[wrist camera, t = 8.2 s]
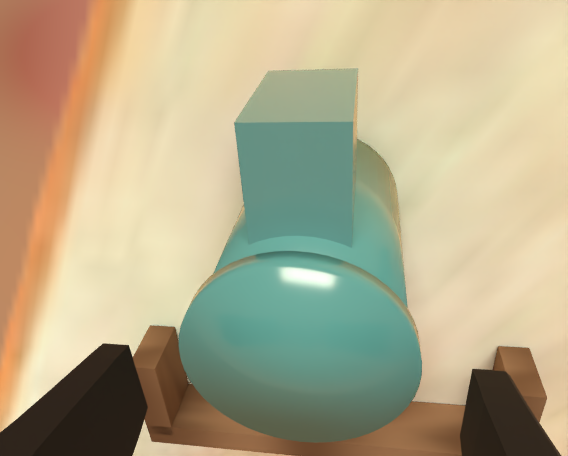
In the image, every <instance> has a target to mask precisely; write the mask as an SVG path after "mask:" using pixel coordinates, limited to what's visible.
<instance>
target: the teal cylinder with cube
mask: <svg viewBox="0 0 568 456" xmlns="http://www.w3.org/2000/svg"><path fill="white" fill-rule="evenodd" d="M357 99H358V69H322V70H283V71H268V72H267V74H266V75H265V77H264V78H263V80H262V81H261V83H260V84H259V86H258V87H257V89H256V90H255V92H254V94H253V95H252V97H251V98H250V100H249V101H248V103H247V104H246V106H245V107H244V109H243V110H242V112H241V113H240V115H239V116H238V118H237V119H236V121H235V122H234V124H235V133H236V141H237V149H238V158H239V166H240V174H241V183H242V191H243V199H244V205H243V207H242V210H241V212H240V214H239V216H238V219H237V221H236V223H235V226H234V228H233V230H232V232H231V235H230V237H229V239H228V241H227V244H226V246H225V248H224V251H223V253H222V255H221V257H220V260H219V262H218V264H217V266H216V269H215V271H214V273H213V275H212V276H210V277H209V278H208V279H207V280H206V281H205V282H204V283H203V284H202V286H201V287H200V288H199V290H198V291H197V293H196V294H195V296H194V297H193V299H192V302H191V304H190V306H189V308H188V310H187V312H186V315H185V317H184V319H183V322H182V324H181V328H180V333H179V352H180V358H181V361H182V365H183V368H184V370H185V372H186V374H187V376H188V378H189V380H190V381H191V383H192V384H193V386H194V387H195V389H196V390H197V391H198V392H199V393H200V394H201V396H202V397H203V398H204V399H205V400H206V401H207V402H209V403H210V404H211V405H212V406H213V407H214V408H215V409H217V410H218V411H219V412H221V413H222V414H223V415H225V416H227V417H228V418H230V419H232V420H233V421H235V422H237V423H239V424H241V425H243V426H245V427H247V428H249V429H252V430H254V431H257V432H259V433H262V434H266V435H269V436H272V437H276V438H281V439H286V440H292V441H299V442H314V443H318V442H335V441H343V440H348V439H352V438H357V437H360V436H363V435H366V434H369V433H371V432H374V431H376V430H378V429H380V428H382V427H384V426H385V425H387V424H389V423H390V422H392V421H393V420H394V419H395V418H397V417H398V416H399V415H400V414H401V413H402V412H403V411H404V410H405V409H406V408H407V407H408V406H409V404H410V403H411V401H412V400H413V398H414V397H415V394H416V392H417V390H418V387H419V384H420V380H421V375H422V360H421V351H420V342H419V336H418V331H417V328H416V325H415V322H414V320H413V318H412V316H411V314H410V312H409V310H408V309H407V298H406V287H405V276H404V265H403V253H402V242H401V231H400V220H399V209H398V198H397V189H396V183H395V180H394V177H393V175H392V173H391V171H390V169H389V167H388V165H387V164H386V162H385V161H384V160H383V158H382V157H381V156H380V155H379V154H378V153H377V152H376V151H375V150H373V149H372V148H371V147H370V146H368V145H367V144H365V143H363V142H362V141H360V140H358V139H357Z"/></svg>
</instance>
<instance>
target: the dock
mask: <svg viewBox="0 0 568 456" xmlns="http://www.w3.org/2000/svg"><path fill="white" fill-rule="evenodd" d="M133 361H134V364H135V367H136V370H137V373H138V377H139V380H140V383H141V386H142V390H143V393H144V396H145V399H146V402H147V406H148V409H147V412H146V416H145V422H146V425H147V428H148V431H149V434H150V437H151V440H152V442H162V443H173V444H183V445H193V446H203V447H213V448H223V449H234V450H244V451H254V452H264V453H274V454H284V455H294V456H462V452H461V442H460V432H461V427H462V421H463V416H464V411H465V406H463V405H450V404H437V403H424V402H412V401H411V403H410V404H409V406H408V407H407V408H406V409H405V410H404V411H403V412H402V413H401V414H400V415H399V416H398V417H397V418H395V419H394V420H393V421H392V422H390V423H389V424H387V425H385V426H384V427H382V428H380V429H378V430H376V431H374V432H371V433H369V434H366V435H363V436H360V437H357V438H352V439H348V440H343V441H335V442H318V443H314V442H299V441H292V440H286V439H281V438H276V437H272V436H269V435H266V434H262V433H259V432H257V431H254V430H252V429H249V428H247V427H245V426H243V425H241V424H239V423H237V422H235V421H233V420H232V419H230V418H228V417H227V416H225V415H223V414H222V413H221V412H219V411H218V410H217V409H215V408H214V407H213V406H212V405H211V404H210V403H209V402H207V401H206V400H205V399H204V398H203V397H202V396H201V394H200V393H199V392H198V391H197V390H196V389H195V387H194V386H193V384H188V380H187V376H186V372H185V370H184V368H183V365H182V361H181V358H180V352H179V342H178V338H177V334H176V330H175V327H166V326H150V327H149V328H148V330H147V332H146V334H145V336H144V338H143V340H142V341H141V343H140V345H139V347H138V349H137V351H136V353H135V354H134V356H133ZM493 370H495V371H506V372H507V373H508V374H509V375H510V376H511V378H512V380H513V381H514V383H515V385H516V386H517V388H518V390H519V391H520V393H521V395H522V396H523V398H524V400H525V401H526V403H527V405H528V406H529V408H530V409H531V411H532V412H533V414H534V416H535V417H536V419H537V420H538V422H540V419H541V416H542V412H543V409H544V406H545V403H546V400H547V396H546V393H545V390H544V388H543V385H542V382H541V379H540V377H539V374H538V371H537V368H536V366H535V363H534V360H533V357H532V354H531V352H530V349H529V348H519V347H502V346H498V349H497V354H496V358H495V363H494V367H493Z"/></svg>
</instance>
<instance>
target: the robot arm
mask: <svg viewBox="0 0 568 456" xmlns="http://www.w3.org/2000/svg"><path fill="white" fill-rule="evenodd" d="M147 409H148V406H147V402H146V399H145V396H144V393H143V390H142V386H141V383H140V380H139V377H138V373H137V370H136V367H135V364H134V361H133V357H132V354H131V351H130V348H129V345H117V344H102V345H101V346H100V347H98V348H97V349H96V350H95V351H94V352H93V353H91V354H90V355H89V356H88V357H87V358H86V359H85V360H83V361H82V362H81V363H80V364H79V365H78V366H77V367H76V368H75V369H73V370H72V371H71V372H70V373H69V374H68V375H67V376H66V377H64V378H63V379H62V380H61V381H60V382H59V383H58V384H57V385H55V386H54V387H53V388H52V389H51V390H50V391H49V392H47V393H46V394H45V395H44V396H43V397H42V398H41V399H39V400H38V401H37V402H36V403H35V404H34V405H33V406H31V407H30V408H29V409H28V410H27V411H26V412H24V413H23V414H22V415H21V416H20V417H19V418H18V419H16V420H15V421H14V422H13V423H12V424H10V425H9V426H8V427H7V428H5V429H4V430H3V431H2V432H0V456H132V455H133V453H134V450H135V447H136V444H137V441H138V438H139V435H140V432H141V429H142V425H143V422H144V419H145V416H146V412H147ZM460 442H461V452H462V456H561V455H560V453H559V452H558V450H557V449H556V447H555V446H554V444H553V443H552V442H551V440H550V439H549V437H548V436H547V434H546V432H545V431H544V429H543V428H542V426H541V425H540V423H539V422H538V420H537V419H536V417H535V416H534V414H533V412H532V411H531V409H530V408H529V406H528V405H527V403H526V401H525V400H524V398H523V396H522V395H521V393H520V391H519V390H518V388H517V386H516V385H515V383H514V381H513V380H512V378H511V376H510V375H509V374H508V373H507V372H506V371H495V370H481V369H472V374H471V380H470V385H469V390H468V395H467V400H466V406H465V411H464V416H463V421H462V427H461V432H460Z"/></svg>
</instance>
